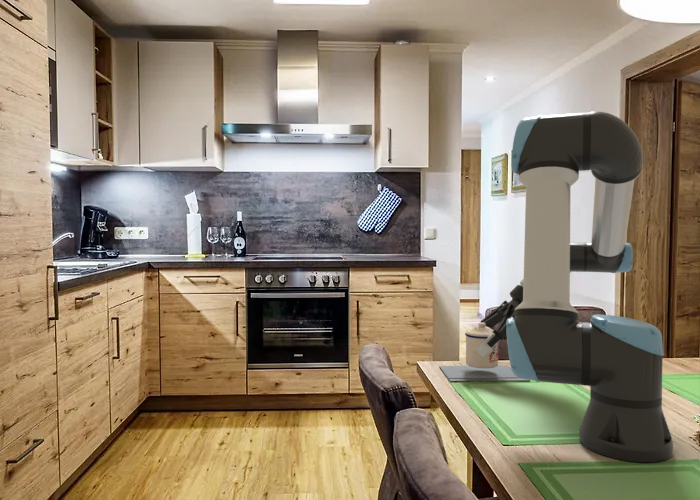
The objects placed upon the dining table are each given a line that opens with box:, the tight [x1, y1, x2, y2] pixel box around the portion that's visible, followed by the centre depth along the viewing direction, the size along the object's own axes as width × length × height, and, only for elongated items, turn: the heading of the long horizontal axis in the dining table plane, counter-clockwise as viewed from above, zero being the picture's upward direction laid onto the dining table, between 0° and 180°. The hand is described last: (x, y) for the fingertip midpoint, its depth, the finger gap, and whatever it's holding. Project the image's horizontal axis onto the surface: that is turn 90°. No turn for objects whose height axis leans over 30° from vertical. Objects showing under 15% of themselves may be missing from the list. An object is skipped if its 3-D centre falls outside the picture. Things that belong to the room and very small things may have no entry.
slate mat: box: [438, 365, 518, 380], centre depth 150 cm, size 13×20×1 cm, turn 91°
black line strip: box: [448, 378, 531, 383], centre depth 142 cm, size 2×21×1 cm, turn 91°
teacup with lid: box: [464, 322, 499, 368], centre depth 150 cm, size 12×9×12 cm
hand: (473, 349), depth 150 cm, fingers closed on teacup with lid, 11 cm apart
